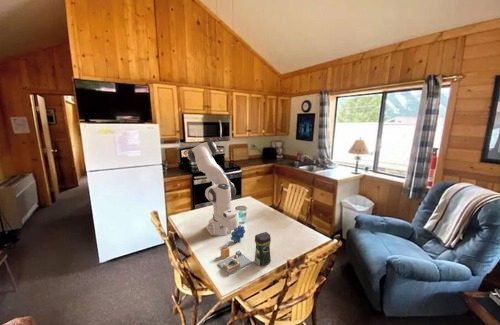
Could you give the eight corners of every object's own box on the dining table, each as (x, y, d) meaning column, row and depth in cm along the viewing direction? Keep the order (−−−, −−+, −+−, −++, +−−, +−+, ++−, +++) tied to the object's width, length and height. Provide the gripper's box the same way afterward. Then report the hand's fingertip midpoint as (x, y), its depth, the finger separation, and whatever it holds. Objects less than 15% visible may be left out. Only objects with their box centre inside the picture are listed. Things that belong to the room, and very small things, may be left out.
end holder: (223, 266, 125) (222, 263, 124) (233, 261, 130) (233, 257, 129) (229, 273, 120) (229, 269, 119) (240, 267, 124) (240, 263, 124)
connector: (220, 255, 137) (220, 246, 135) (226, 253, 139) (225, 244, 138) (224, 258, 134) (223, 249, 132) (229, 256, 136) (229, 246, 135)
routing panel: (217, 264, 128) (217, 263, 128) (240, 253, 139) (240, 252, 139) (228, 275, 119) (228, 273, 119) (251, 262, 130) (251, 261, 130)
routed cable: (224, 260, 131) (224, 257, 130) (238, 253, 138) (238, 250, 137) (230, 265, 126) (229, 262, 125) (244, 258, 133) (244, 255, 132)
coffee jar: (264, 255, 137) (265, 229, 133) (272, 262, 130) (273, 234, 127) (252, 260, 132) (252, 233, 128) (259, 268, 125) (260, 239, 122)
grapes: (242, 236, 160) (242, 221, 158) (246, 240, 154) (246, 225, 152) (228, 240, 154) (228, 225, 152) (232, 245, 148) (232, 229, 146)
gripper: (211, 206, 136) (212, 226, 139) (229, 217, 121) (229, 239, 123) (219, 204, 140) (220, 223, 143) (237, 214, 125) (238, 235, 127)
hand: (224, 230), depth 133 cm, fingers open, 8 cm apart
